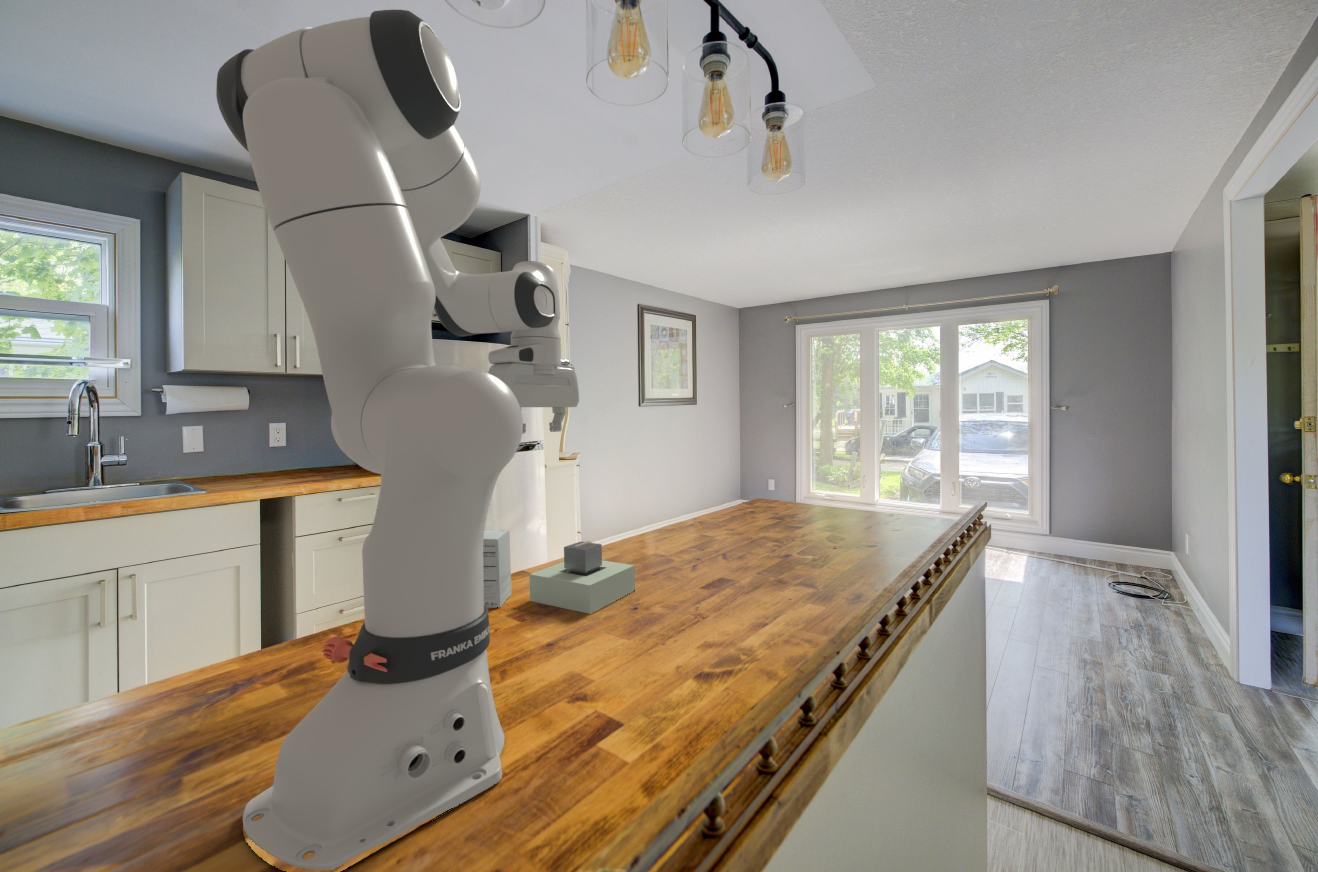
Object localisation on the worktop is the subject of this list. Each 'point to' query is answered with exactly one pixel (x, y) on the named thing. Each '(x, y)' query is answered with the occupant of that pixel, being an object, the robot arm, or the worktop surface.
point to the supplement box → (496, 567)
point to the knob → (583, 558)
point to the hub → (582, 586)
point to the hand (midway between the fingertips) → (538, 432)
